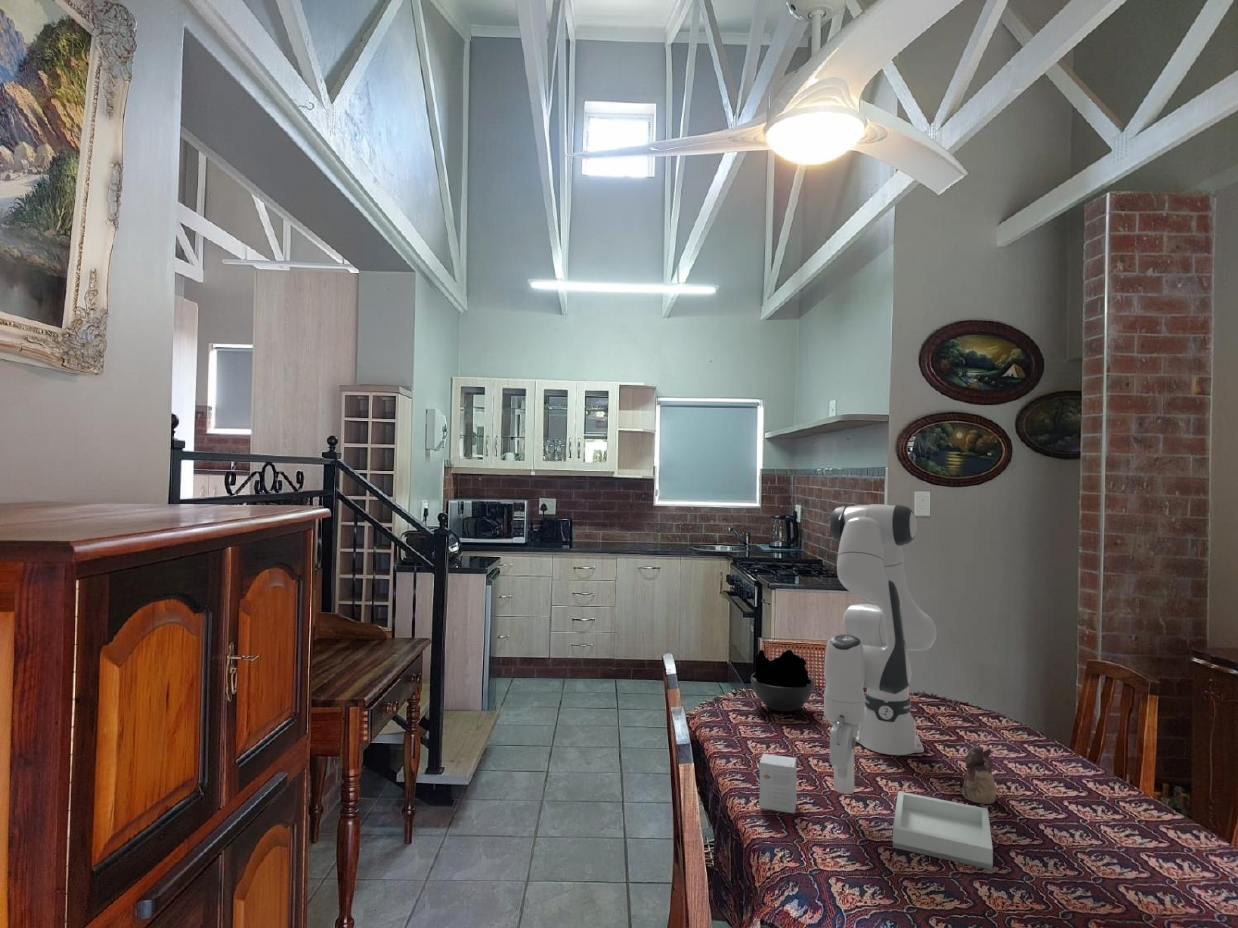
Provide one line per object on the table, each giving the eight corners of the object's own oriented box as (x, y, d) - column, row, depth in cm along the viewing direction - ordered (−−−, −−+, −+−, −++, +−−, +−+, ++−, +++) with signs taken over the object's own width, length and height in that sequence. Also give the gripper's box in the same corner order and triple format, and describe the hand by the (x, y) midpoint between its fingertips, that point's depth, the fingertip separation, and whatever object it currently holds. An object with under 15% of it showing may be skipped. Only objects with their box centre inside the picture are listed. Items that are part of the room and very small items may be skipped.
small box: (797, 803, 158) (797, 757, 158) (795, 814, 153) (795, 767, 153) (762, 797, 161) (762, 752, 161) (758, 808, 156) (759, 761, 156)
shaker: (834, 782, 157) (834, 732, 157) (856, 786, 155) (856, 735, 155) (831, 791, 153) (831, 739, 153) (853, 796, 151) (854, 743, 151)
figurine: (968, 787, 167) (968, 738, 167) (1000, 797, 162) (1000, 746, 162) (957, 796, 162) (958, 746, 162) (990, 807, 157) (990, 755, 157)
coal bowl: (824, 709, 222) (825, 651, 222) (796, 725, 207) (796, 663, 207) (769, 695, 235) (770, 640, 236) (738, 710, 220) (739, 651, 221)
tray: (898, 808, 156) (898, 791, 156) (987, 826, 148) (987, 808, 148) (892, 847, 140) (892, 827, 140) (992, 869, 132) (992, 849, 132)
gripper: (853, 727, 143) (853, 793, 143) (863, 698, 162) (863, 756, 162) (822, 722, 146) (822, 787, 146) (836, 694, 164) (835, 751, 164)
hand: (844, 770), depth 154 cm, fingers closed on shaker, 4 cm apart
